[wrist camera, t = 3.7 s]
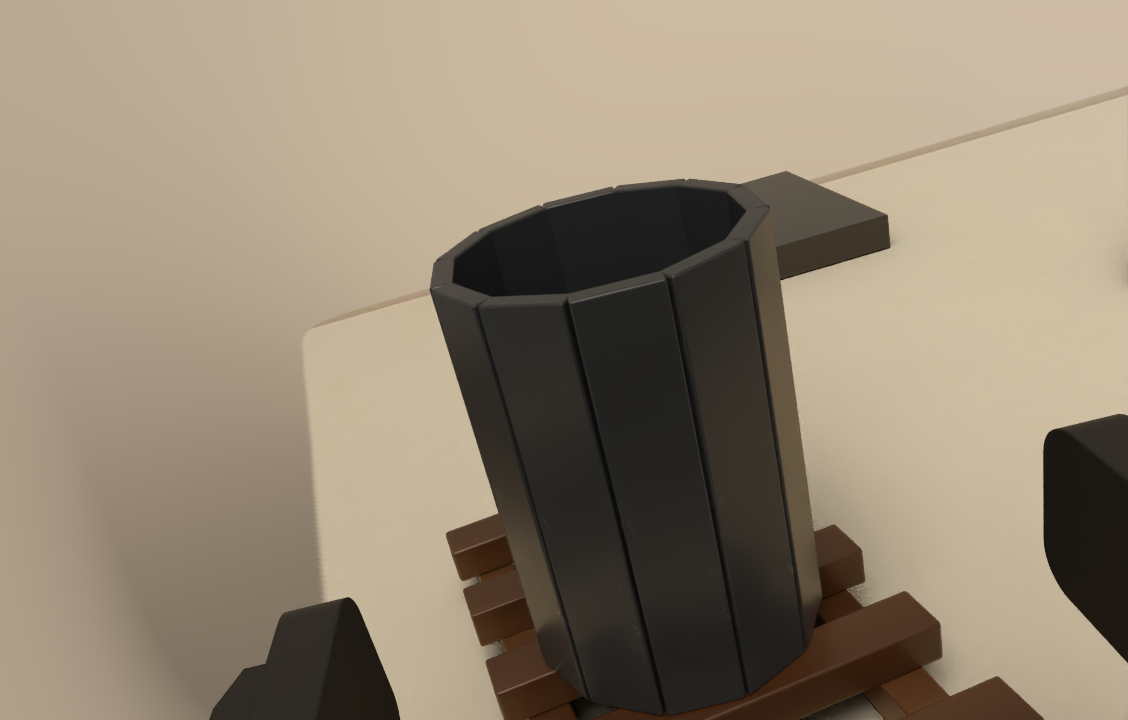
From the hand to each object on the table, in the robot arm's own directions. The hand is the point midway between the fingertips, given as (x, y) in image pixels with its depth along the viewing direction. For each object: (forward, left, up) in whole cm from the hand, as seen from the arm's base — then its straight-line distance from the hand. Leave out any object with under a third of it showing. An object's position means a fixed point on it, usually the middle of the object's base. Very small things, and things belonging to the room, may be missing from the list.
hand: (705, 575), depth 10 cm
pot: (-8, +7, -7) cm, 13 cm away
